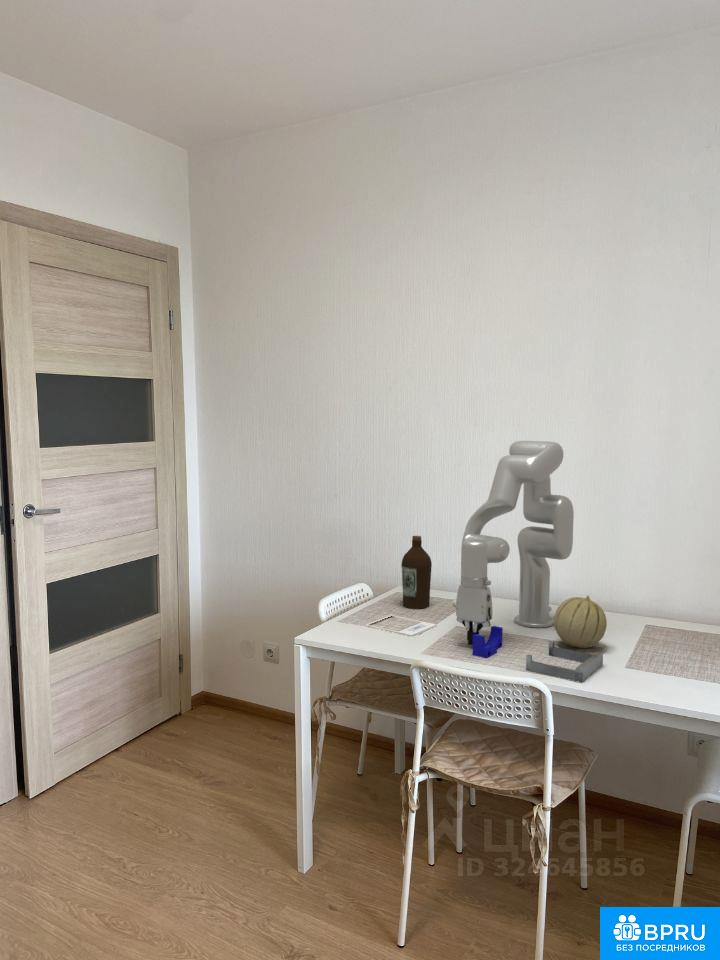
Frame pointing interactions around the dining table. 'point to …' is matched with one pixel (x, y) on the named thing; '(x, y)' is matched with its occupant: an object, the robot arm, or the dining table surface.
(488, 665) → the dining table surface
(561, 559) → the robot arm
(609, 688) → the dining table surface
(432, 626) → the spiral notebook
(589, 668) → the frame
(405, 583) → the olive oil
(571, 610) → the cantaloupe
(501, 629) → the cable clip
